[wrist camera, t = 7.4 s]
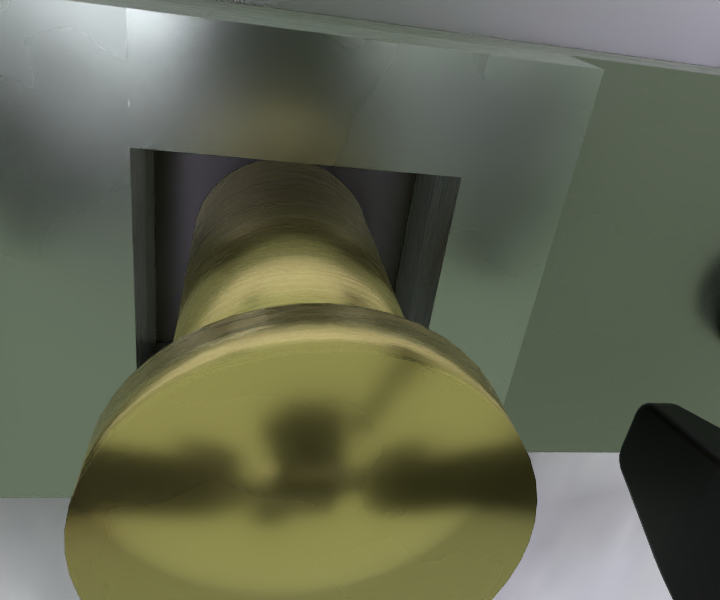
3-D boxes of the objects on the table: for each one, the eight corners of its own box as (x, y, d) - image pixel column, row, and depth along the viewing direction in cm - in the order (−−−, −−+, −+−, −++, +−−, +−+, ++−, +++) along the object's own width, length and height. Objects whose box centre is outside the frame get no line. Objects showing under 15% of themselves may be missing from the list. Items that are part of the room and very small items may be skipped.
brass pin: (416, 137, 12) (595, 361, 6) (379, 345, 14) (480, 672, 8) (158, 111, 11) (42, 342, 5) (160, 337, 13) (81, 697, 7)
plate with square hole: (963, 101, 13) (1159, 147, 10) (783, 420, 17) (889, 518, 14) (-779, -134, 8) (-1342, -169, 5) (-470, 400, 12) (-695, 547, 9)
